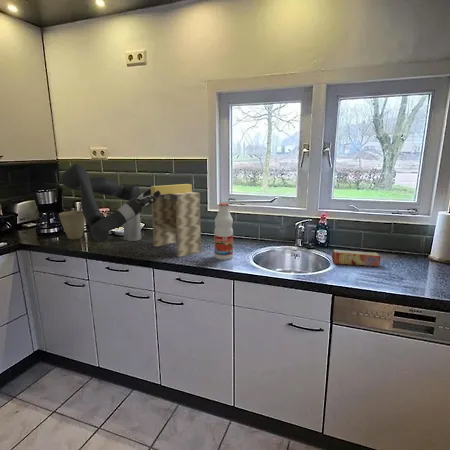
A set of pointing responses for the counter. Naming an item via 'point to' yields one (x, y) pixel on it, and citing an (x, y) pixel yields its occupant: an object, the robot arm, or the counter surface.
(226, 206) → the fruit juice
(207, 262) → the counter surface
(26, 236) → the counter surface
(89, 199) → the robot arm
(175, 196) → the beige zigzag patterned stand
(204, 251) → the counter surface
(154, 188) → the spaghetti box
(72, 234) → the plant pot
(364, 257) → the snack package
